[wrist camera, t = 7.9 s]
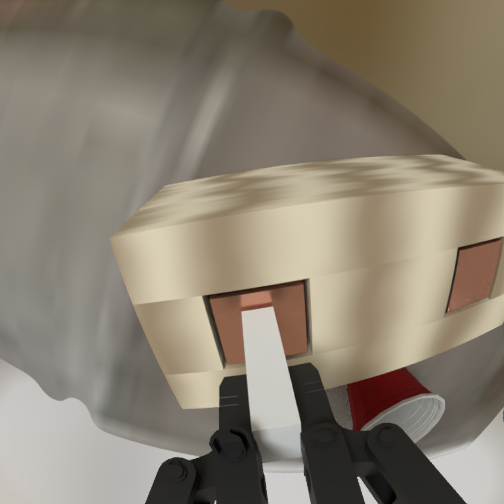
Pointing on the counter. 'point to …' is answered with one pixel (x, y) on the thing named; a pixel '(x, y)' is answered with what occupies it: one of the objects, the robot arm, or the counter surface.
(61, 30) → the counter surface
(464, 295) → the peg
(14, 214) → the counter surface
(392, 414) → the plastic cup
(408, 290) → the collar block
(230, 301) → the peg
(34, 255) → the counter surface
